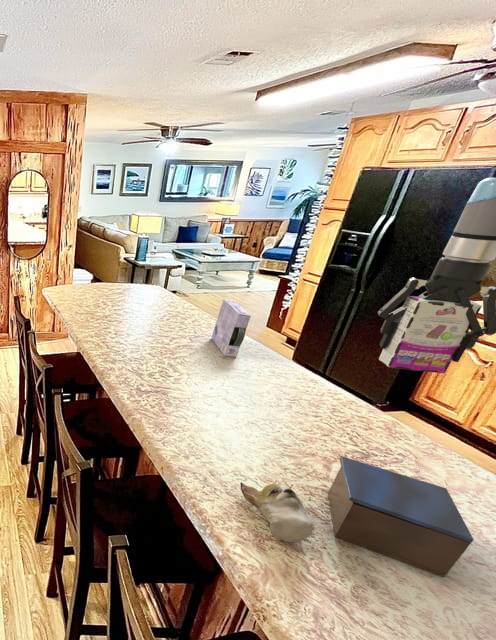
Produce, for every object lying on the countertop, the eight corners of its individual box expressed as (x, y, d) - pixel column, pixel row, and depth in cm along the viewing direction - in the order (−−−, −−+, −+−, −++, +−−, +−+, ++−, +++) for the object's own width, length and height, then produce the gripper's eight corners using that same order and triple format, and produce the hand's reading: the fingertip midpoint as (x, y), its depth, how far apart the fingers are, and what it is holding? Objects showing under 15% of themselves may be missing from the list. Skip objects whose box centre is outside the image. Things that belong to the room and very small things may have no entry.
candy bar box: (430, 365, 93) (467, 299, 85) (445, 374, 88) (485, 305, 81) (375, 358, 95) (406, 294, 88) (387, 367, 91) (421, 300, 84)
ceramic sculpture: (276, 512, 69) (244, 460, 82) (262, 547, 72) (233, 492, 86) (342, 521, 67) (298, 467, 81) (324, 557, 71) (285, 499, 84)
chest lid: (348, 500, 71) (350, 497, 71) (339, 458, 82) (341, 455, 81) (471, 543, 64) (474, 539, 63) (444, 491, 74) (446, 488, 74)
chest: (334, 536, 75) (352, 503, 71) (327, 492, 85) (343, 461, 81) (444, 577, 68) (471, 543, 64) (421, 523, 78) (444, 491, 74)
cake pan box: (238, 359, 147) (252, 315, 139) (224, 357, 147) (237, 314, 139) (222, 339, 164) (234, 299, 156) (210, 338, 164) (221, 298, 156)
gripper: (543, 263, 78) (483, 360, 87) (387, 249, 89) (350, 336, 99) (563, 270, 72) (497, 372, 81) (394, 254, 83) (353, 346, 93)
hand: (416, 353), depth 90 cm, fingers closed on candy bar box, 12 cm apart
